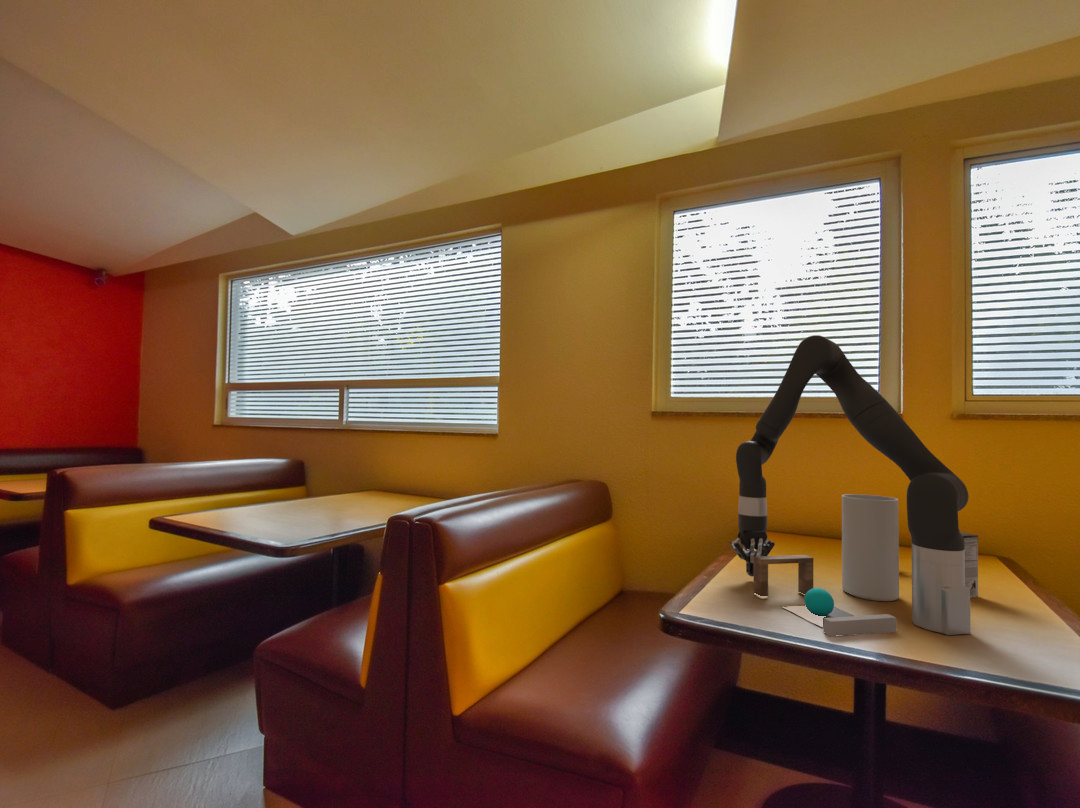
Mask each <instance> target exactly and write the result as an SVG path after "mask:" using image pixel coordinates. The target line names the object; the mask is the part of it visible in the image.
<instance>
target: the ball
mask: <svg viewBox="0 0 1080 808" xmlns="http://www.w3.org/2000/svg"><path fill="white" fill-rule="evenodd" d="M804 605H806V607H807V609H808V610H809V611H810V612H811V613H813V614H815V615H818V616H826V615H828V614H830V613H831V612H832V610H833V608H834V607H835V601H834V598H833V596H832V595H831V593H829V592H828V591H827V590H826V589H823V588H820V587H813V589H810V590H809V591H808V592H807V593H806V594H805V596H804Z"/></svg>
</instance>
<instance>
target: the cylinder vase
mask: <svg viewBox="0 0 1080 808" xmlns="http://www.w3.org/2000/svg"><path fill="white" fill-rule="evenodd" d="M899 519H900V517H899V498H896V497H893V496H882V495H873V494H860V493H858V494H857V493H852V494H851V493H848V494H847V493H845V494H842V495H841V587H842V590H843V591H844V592H845V593H846V592H847V594H848V593H849V595H850V594H851V596H853V597H856V598H859V599H863V600H869V601H876V602H892V601H896V600H899V598H900V541H899V540H900V538H899V537H900V536H899V535H900V533H899V532H900V527H899V524H900V523H899V522H900V521H899Z"/></svg>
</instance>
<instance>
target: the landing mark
mask: <svg viewBox="0 0 1080 808" xmlns="http://www.w3.org/2000/svg"><path fill="white" fill-rule="evenodd" d="M849 616H855V615H854V614H852V613H850V612H848V611H846V610H844V609H840V608H839V607H837V606H834V608H833V610H832V612H831V613H830V614H828V615H826V617H824V618H833V617H849Z"/></svg>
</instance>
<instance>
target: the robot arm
mask: <svg viewBox="0 0 1080 808" xmlns="http://www.w3.org/2000/svg"><path fill="white" fill-rule="evenodd" d="M815 375H816V376H818V377H819V379H820V380H822V381H823V382H824V384H826V385H827V387H829V388H830V390H831V391H832V392H833V393H834V395H835V397H836V398H837V401H838V403H839V405H840V406H841V409H842V411H843V413H844V415H845V416H846V418H847V419H848V421H849V423H850V424H851V425H852V426H853V427H854V428H855V430H856V431H857V432H858V434H859V435H860V436H861V438H862V437H863V439H864V440H865V441H866V442H867V443H868V444H870V445H871V446H872V447H873V448H874V449H876V450H877V451H879V453H880V454H883V456H885V457H886V458H887V459H889V460H890V461H892V462H893V463H894V464H896V465H897V467H898V468H900V469H901V470H902V472H903V473H904V474H905V476H906V477H907V478H908V479H909V481H910V482H908V486H907V490H906V515H907V517H906V518H907V519H906V520H907V527H908V531H909V533H910V537H911V601H912V602H911V605H912V606H911V608H912V609H911V610H912V611H911V612H912V614H911V615H912V618H911V621H912V623H913V624H914V625H916V626H917V627H920V628H923V629H925V630H927V631H932V632H934V633H935V632H936V633H940V634H944V635H947V636H954V635H968V634H972V632H971V631H972V630H971V629H972V628H971V626H972V625H971V623H972V622H971V598H970V588H969V587H966V586H965V550H964V549H965V544H964V537H963V536H962V535H961V533H960V532H961V531H960V527H959V512H960V511H962V510H963V509H964V508H965V507H966V506H967V504H968V502H969V498H970V497H969V491H968V488H967V485H966V484H965V483H964V481H963V480H961V478H960V477H959V476H957V475H956V474H955V473H954V472H953V471H952V470H951V469H949V467H947V466H946V465H945V464H944V463H943V462H942V461H941V460H940V459H939V458H937V457H936V456H935V455H934V454H933V453H932V452H931V450H929V448H928V447H927V446H926V445H925V444H924V443H923V442H922V440H921V439H920V438H919V436H917V434H916V433H915V431H913V429H912V428H911V427H910V425H908V424H907V422H906V421H905V420H904V419H903V418H902V417H901V415H900V414H899V413H898V412H897V410H896V409H895V408H894V407H893V406H892V405H891V404H890V403H889V401H888V400H887V399H885V398H884V397H883V395H882V394H881V393H879V391H878V390H877V389H876V388H875V387H874V386H873V385H871V384H870V383H869V382H868V381H867V380H866V379H864V377H862V376H861V375H860V374H859V373H858V371H857V369H855V367H854V366H853V364H852V363H851V362H850V361H849V359H848V358H847V356H846V355H845V353H844V352H843V350H842V348H841V347H840V346H839V345H838V344H837V343H836V342H835V341H832V340H831V339H829V338H827V337H825V336H822V335H817V334H815V335H814V334H813V335H809V336H807V337H805V338H804V339H802V340H801V341H800V342H799V344H798V345H797V347H796V349H795V351H794V354H793V355H792V358H791V360H790V363H789V365H788V367H787V370H786V372H785V373H784V376H783V378H782V380H781V382H780V384H779V386H778V388H777V390H776V392H775V394H774V396H773V397H772V399H771V401H770V403H769V404H768V405H767V407H766V409H765V410H764V412H763V413H762V414H761V416H760V417H759V419H758V420H757V422H756V425H755V432H754V433H753V436H752V437H751V439H750V440H748V441H743V442H742V443H741V444H739V445H738V447H737V450H736V452H735V453H736V454H735V462H736V469H737V474H738V479H739V482H738V483H739V489H738V490H739V492H738V493H739V495H738V505H737V507H738V509H737V510H738V511H737V512H738V513H737V514H738V515H737V517H738V518H737V519H738V520H737V524H738V525H737V527H738V533H737V538H736V539H735V540H731V541H730V542H729V544H730V546H731V548H732V549H733V551H734V552H735V553H736V555H737V556H738V558H739V559H740V560H742V561H743V560H744V561H745V565H746V568H745V572H746V574H747V575H748V576H750V577H754V557H756V556H769V554H771V551H772V550H773V549H774V547H775V544H776V543H775V542H773V541H772V540H770V539H769V538H768V534H767V530H768V501H767V481H766V478H765V477H764V475H763V465H764V464H765V463H767V461H768V460H769V459H770V458H771V456H772V455H773V452H774V450H775V449H776V446H777V444H778V442H779V439H780V438H781V436H782V435H783V433H784V432H785V431H786V429H787V428H788V426H789V425H790V424H791V422H792V421H793V418H794V416H795V415H796V411H797V410H798V407H799V404H800V403H799V402H800V400H801V397H802V395H803V392H804V390H805V388H806V386H807V385H808V383H809V382H810V380H812V378H813V376H815ZM742 547H743V548H742Z"/></svg>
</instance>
